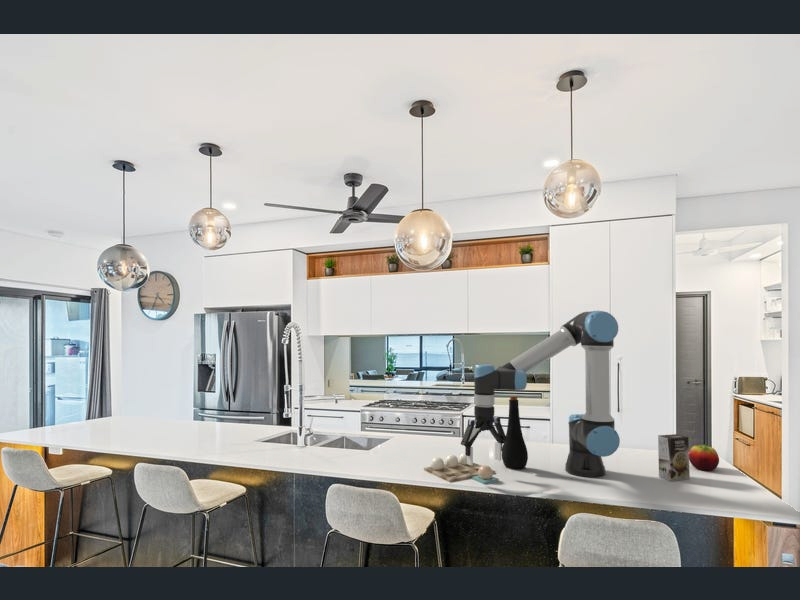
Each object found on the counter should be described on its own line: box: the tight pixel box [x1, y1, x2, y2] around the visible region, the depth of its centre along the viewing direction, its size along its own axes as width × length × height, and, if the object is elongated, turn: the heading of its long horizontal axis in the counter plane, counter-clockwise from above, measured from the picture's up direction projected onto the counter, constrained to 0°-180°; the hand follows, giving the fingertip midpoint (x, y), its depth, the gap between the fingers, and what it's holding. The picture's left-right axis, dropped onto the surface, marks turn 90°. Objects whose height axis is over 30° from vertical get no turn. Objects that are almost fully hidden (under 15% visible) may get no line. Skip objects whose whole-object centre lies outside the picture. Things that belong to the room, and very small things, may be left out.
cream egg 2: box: [444, 454, 459, 468], centre depth 202 cm, size 6×6×6 cm
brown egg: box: [478, 464, 494, 480], centre depth 187 cm, size 6×6×6 cm
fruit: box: [689, 444, 720, 472], centre depth 204 cm, size 11×11×10 cm
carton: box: [423, 461, 496, 483], centre depth 198 cm, size 22×18×2 cm
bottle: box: [501, 395, 529, 470], centre depth 205 cm, size 11×11×30 cm
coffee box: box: [657, 433, 691, 482], centre depth 192 cm, size 9×6×16 cm
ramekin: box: [471, 475, 500, 485], centre depth 187 cm, size 7×7×2 cm
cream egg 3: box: [458, 452, 469, 466], centre depth 206 cm, size 6×6×6 cm
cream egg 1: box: [430, 456, 445, 471], centre depth 199 cm, size 6×6×6 cm
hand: (484, 462), depth 187 cm, fingers open, 13 cm apart
